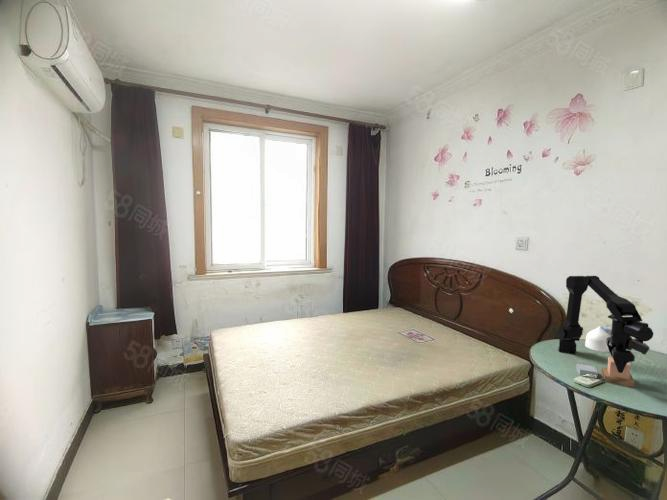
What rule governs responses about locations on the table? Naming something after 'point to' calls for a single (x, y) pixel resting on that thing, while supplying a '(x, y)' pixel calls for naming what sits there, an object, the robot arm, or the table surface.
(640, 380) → the table surface
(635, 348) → the robot arm
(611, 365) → the terracotta block
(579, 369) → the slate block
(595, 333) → the teardrop
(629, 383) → the walnut block
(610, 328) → the medicine box
